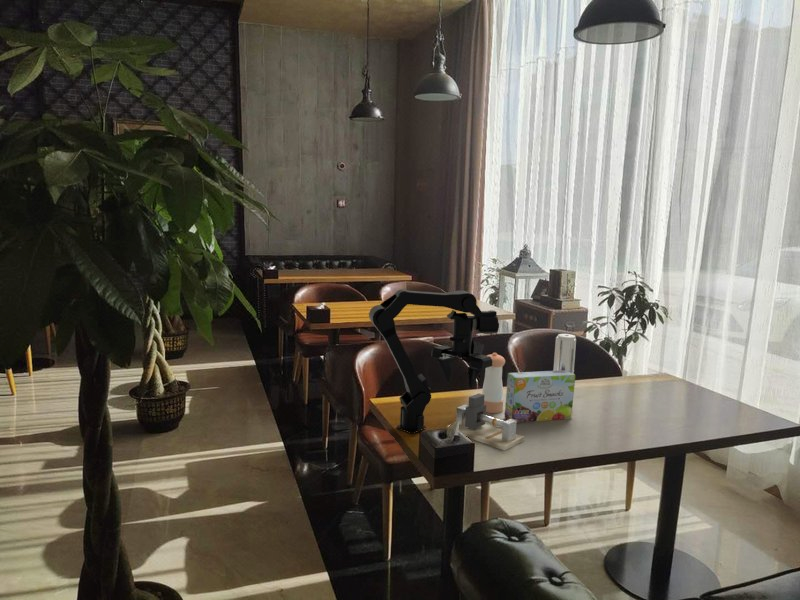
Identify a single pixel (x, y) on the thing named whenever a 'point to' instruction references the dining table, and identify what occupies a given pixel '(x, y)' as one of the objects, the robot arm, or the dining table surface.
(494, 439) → the board
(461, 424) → the pipe rig
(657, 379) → the dining table surface
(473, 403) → the grey upright block
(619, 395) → the dining table surface
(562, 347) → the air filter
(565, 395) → the snack box
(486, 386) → the pepper shaker
